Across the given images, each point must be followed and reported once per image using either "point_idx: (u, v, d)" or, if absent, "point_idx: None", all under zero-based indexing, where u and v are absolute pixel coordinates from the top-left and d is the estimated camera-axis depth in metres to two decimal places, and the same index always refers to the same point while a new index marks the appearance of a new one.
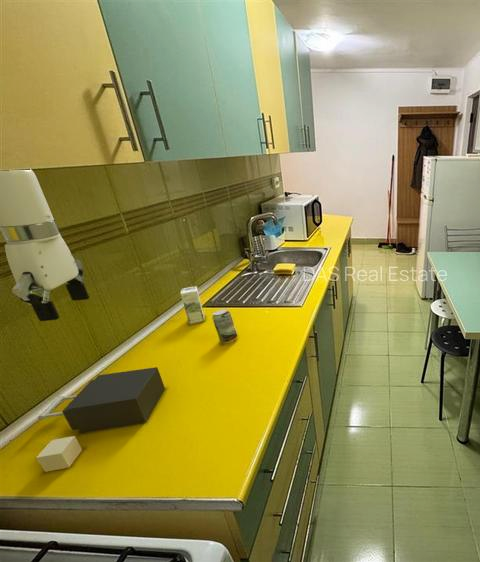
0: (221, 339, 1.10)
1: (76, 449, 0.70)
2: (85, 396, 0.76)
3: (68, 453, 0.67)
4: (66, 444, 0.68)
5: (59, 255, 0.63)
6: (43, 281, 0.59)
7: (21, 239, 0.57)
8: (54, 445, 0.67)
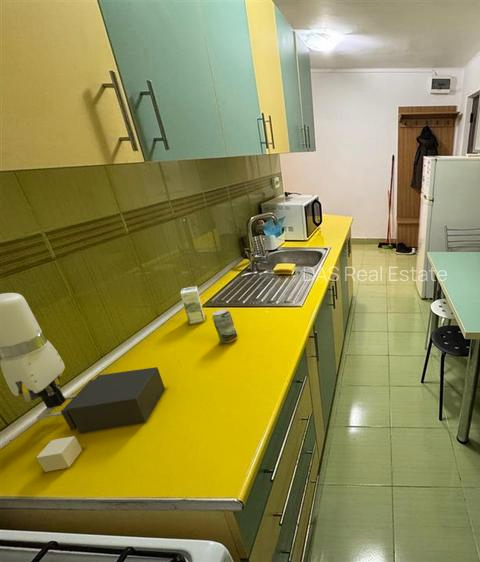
0: (221, 339, 1.10)
1: (76, 449, 0.70)
2: (85, 396, 0.76)
3: (68, 453, 0.67)
4: (66, 444, 0.68)
5: (47, 359, 0.74)
6: (33, 387, 0.70)
7: (13, 355, 0.68)
8: (54, 445, 0.67)
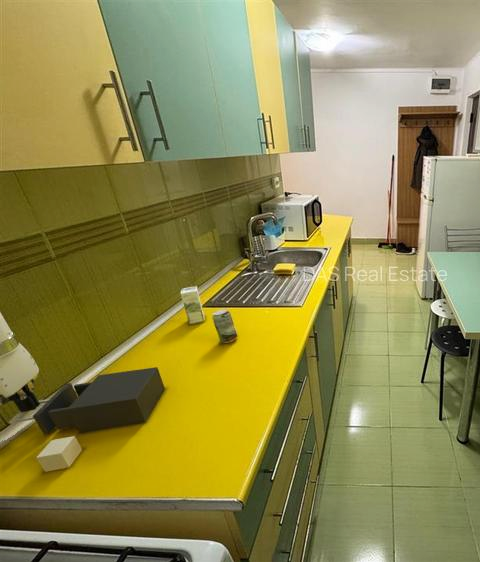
0: (221, 339, 1.10)
1: (76, 449, 0.70)
2: (85, 396, 0.76)
3: (68, 453, 0.67)
4: (66, 444, 0.68)
5: (19, 363, 0.73)
6: (3, 391, 0.69)
7: None
8: (54, 445, 0.67)
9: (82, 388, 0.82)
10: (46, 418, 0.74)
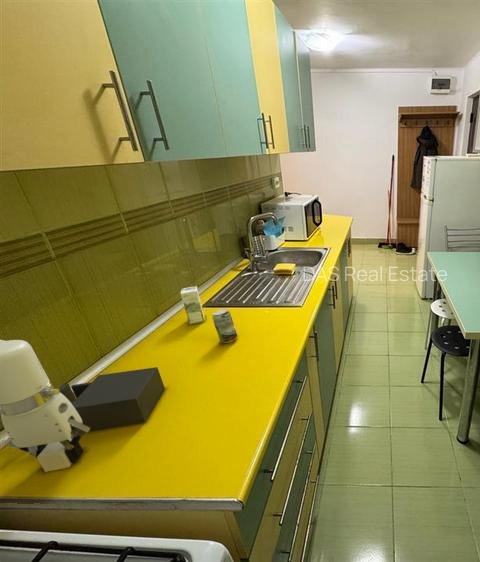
0: (221, 339, 1.10)
1: None
2: (85, 396, 0.76)
3: None
4: None
5: (32, 425, 0.62)
6: (12, 441, 0.63)
7: None
8: (54, 445, 0.67)
9: (80, 389, 0.82)
10: None
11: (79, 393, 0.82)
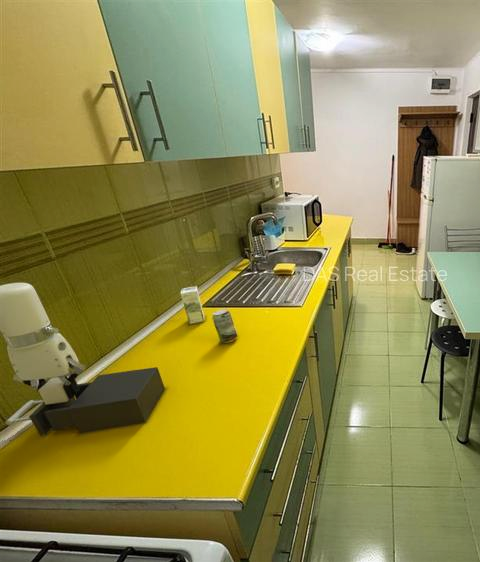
0: (221, 339, 1.10)
1: None
2: (85, 396, 0.76)
3: None
4: None
5: (35, 359, 0.70)
6: (16, 374, 0.71)
7: None
8: (53, 382, 0.76)
9: (79, 389, 0.82)
10: (42, 419, 0.74)
11: (78, 393, 0.82)
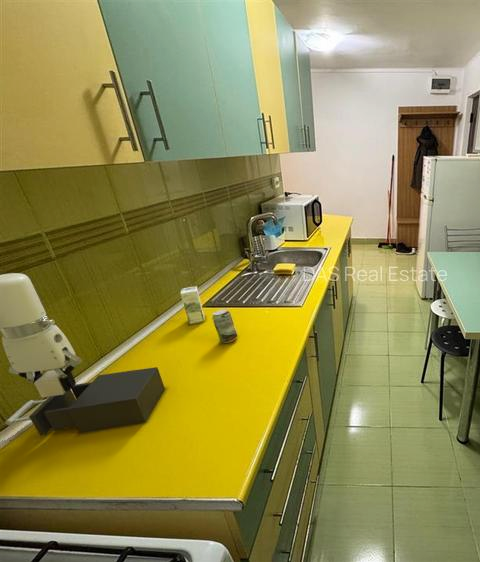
0: (221, 339, 1.10)
1: None
2: (85, 396, 0.76)
3: None
4: None
5: (30, 351, 0.69)
6: (12, 366, 0.70)
7: None
8: (49, 375, 0.75)
9: (79, 389, 0.82)
10: (42, 419, 0.74)
11: (78, 393, 0.82)
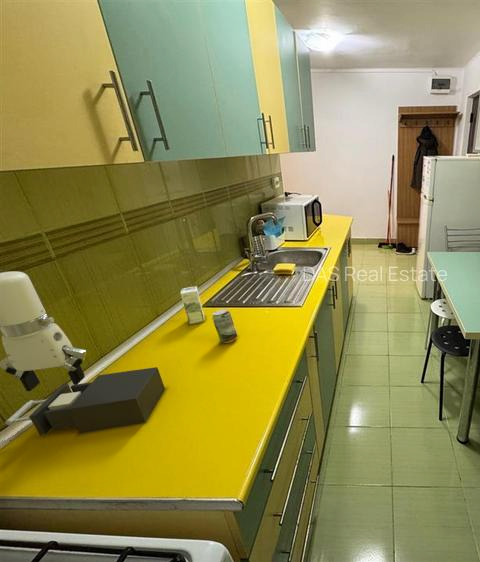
0: (221, 339, 1.10)
1: None
2: (85, 396, 0.76)
3: None
4: (73, 397, 0.78)
5: (30, 349, 0.69)
6: (12, 364, 0.70)
7: None
8: (62, 398, 0.78)
9: (79, 389, 0.82)
10: (42, 419, 0.74)
11: None
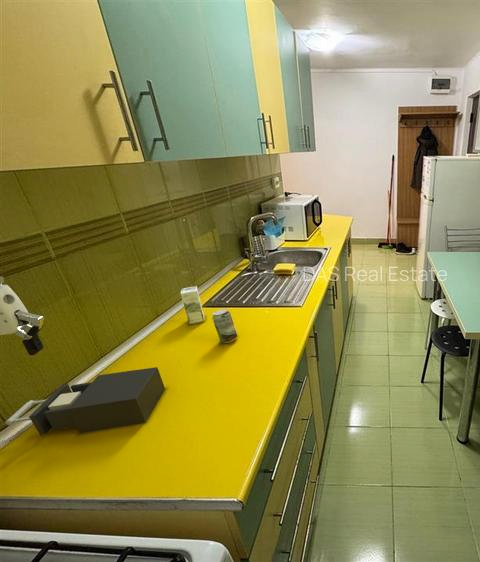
0: (221, 339, 1.10)
1: None
2: (85, 396, 0.76)
3: None
4: (73, 397, 0.78)
5: None
6: None
7: None
8: (62, 398, 0.78)
9: (79, 389, 0.82)
10: (42, 419, 0.74)
11: None
